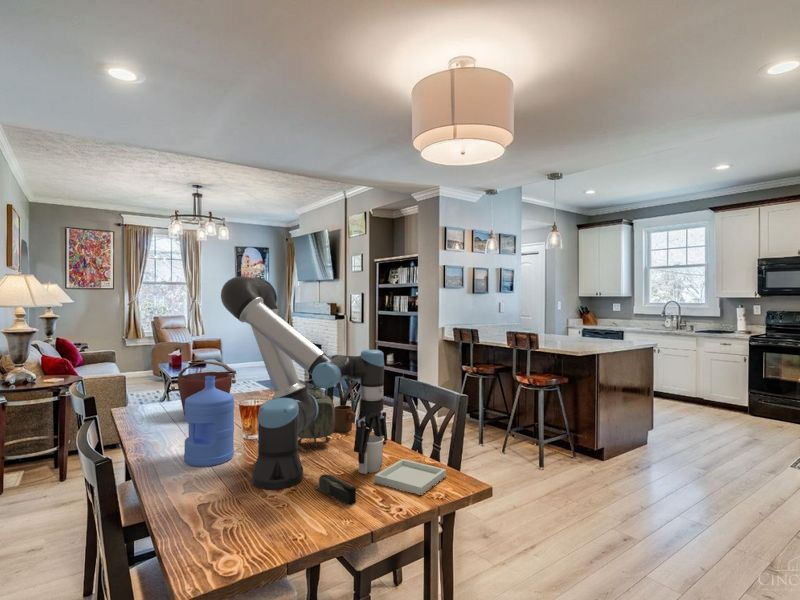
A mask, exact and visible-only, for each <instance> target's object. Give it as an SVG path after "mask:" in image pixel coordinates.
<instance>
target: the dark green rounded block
mask: <svg viewBox="0 0 800 600" xmlns="http://www.w3.org/2000/svg"><path fill="white" fill-rule="evenodd" d="M318 479H319V480H318V486H315V487H314V489H315V490H316V491H319V492H321V493H323V494H325V495H326V496H329V497H331V498H333V499H334V500H336V501H339V502H341V503H342V504H344V503H345V504H344V505H347V504H350V505H353V504H356V502H357V501H356V500H357V499H356V496H357V495H356V494H357V490H356V489H357V488H356V487H355V486H354V485H351V484H349V483H347V482H345V481H343V480H340V479H339V478H337V477H336V476H334V475H331V474H322V475H320V477H319V478H318Z"/></svg>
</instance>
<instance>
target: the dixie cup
mask: <svg viewBox="0 0 800 600" xmlns="http://www.w3.org/2000/svg"><path fill="white" fill-rule="evenodd" d="M383 437H384V436H383ZM383 437H382V436H380V437H378V436H375V435H374V434H370V436H369V440H368V442H367V448H366V453H367V473H368V472H369V474H370V473H371V474H372V473H373V472H374V473H378V472H380V468H381V465H380V464H381V455H382V448H383V449H384V445H383V441H384V438H383Z"/></svg>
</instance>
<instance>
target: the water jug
mask: <svg viewBox="0 0 800 600" xmlns="http://www.w3.org/2000/svg"><path fill="white" fill-rule="evenodd" d="M205 379H206V381H205V388H204V389H203V390H201V391H199V392H197V393H195V394H193V395H191V396H189V397H188V398H186V400H185V406H184V412H185V416H184V421H185V422H187V424H188V437H186V438H185V439H184V452H183V453H184V454H183V461H184V463H185V464H186V465H189V466H192V467H210V466H211V467H212V466H217V465H220V464H224V463H226V462H228V461H230V460H231V459H232V458H233V457H234V454H235V448H234V442H235V441H234V440H235V439H234V438H235V437H234V436H235V435H234V434H235V423H234V421H235V419H234V417H235V416H234V415H235V410H234V409H235V397H234V395H233V394H231V393H230V394H229V393H227V392H224V391H221V390H219V389H216V388H215V376H206V377H205ZM184 412H183V413H184Z"/></svg>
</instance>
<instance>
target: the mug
mask: <svg viewBox="0 0 800 600" xmlns="http://www.w3.org/2000/svg"><path fill="white" fill-rule="evenodd" d="M334 408H335V426H334V431H335V432H337V433H347V432H350V431H352V429H353V423H354V422H355V421H356V414H355V412H354V411H353V406H351V405H337V406H334Z"/></svg>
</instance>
